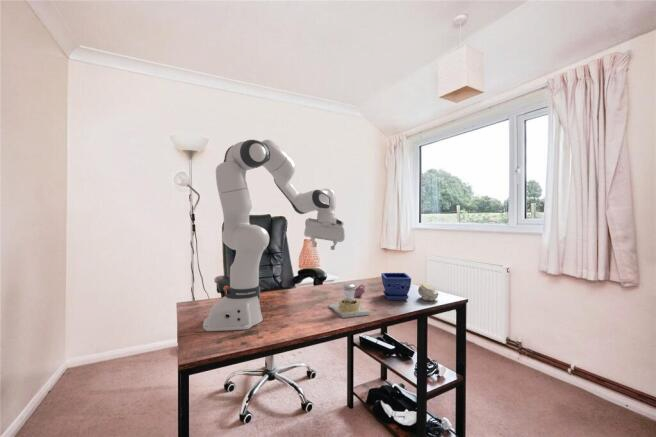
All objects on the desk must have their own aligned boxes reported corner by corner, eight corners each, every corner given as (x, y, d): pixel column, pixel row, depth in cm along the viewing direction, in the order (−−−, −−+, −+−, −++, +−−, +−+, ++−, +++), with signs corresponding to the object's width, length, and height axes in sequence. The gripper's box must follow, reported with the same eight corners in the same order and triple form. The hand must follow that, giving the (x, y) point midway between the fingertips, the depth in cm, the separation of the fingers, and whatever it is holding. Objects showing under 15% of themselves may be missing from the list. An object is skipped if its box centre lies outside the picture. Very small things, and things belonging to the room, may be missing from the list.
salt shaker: (346, 309, 124) (346, 286, 124) (341, 306, 129) (341, 284, 129) (356, 308, 126) (356, 285, 126) (352, 305, 131) (352, 283, 131)
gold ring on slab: (342, 318, 118) (342, 308, 118) (329, 307, 133) (329, 298, 132) (370, 314, 123) (370, 305, 123) (355, 304, 137) (355, 295, 137)
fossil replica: (433, 296, 151) (414, 298, 151) (431, 280, 152) (413, 282, 151) (443, 301, 139) (423, 303, 139) (441, 284, 140) (422, 286, 139)
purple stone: (360, 300, 148) (366, 289, 147) (352, 296, 149) (358, 284, 148) (361, 295, 158) (367, 284, 157) (354, 291, 158) (360, 280, 158)
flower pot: (384, 301, 142) (384, 277, 141) (380, 294, 155) (380, 272, 155) (411, 301, 141) (411, 278, 141) (405, 294, 154) (405, 272, 154)
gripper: (307, 215, 135) (305, 244, 131) (346, 222, 142) (345, 250, 138) (303, 219, 141) (301, 246, 137) (341, 225, 148) (339, 252, 144)
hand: (323, 248), depth 137 cm, fingers open, 8 cm apart
